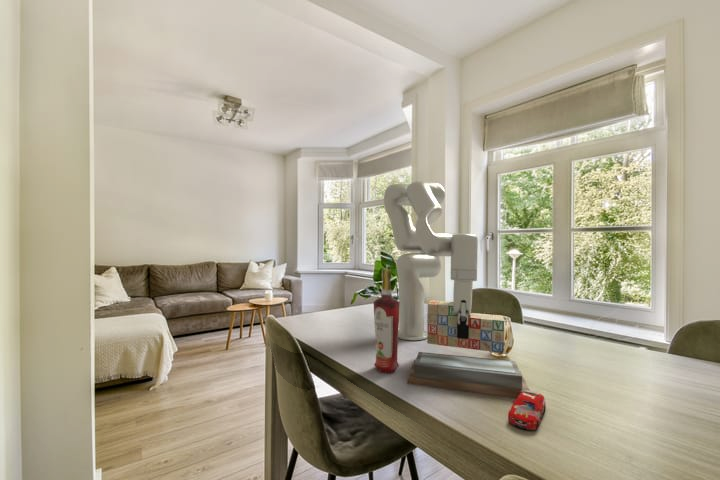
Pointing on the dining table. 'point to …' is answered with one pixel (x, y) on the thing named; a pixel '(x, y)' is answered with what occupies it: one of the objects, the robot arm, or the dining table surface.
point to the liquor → (386, 327)
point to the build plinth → (467, 374)
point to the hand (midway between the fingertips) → (462, 334)
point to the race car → (527, 410)
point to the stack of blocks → (482, 328)
